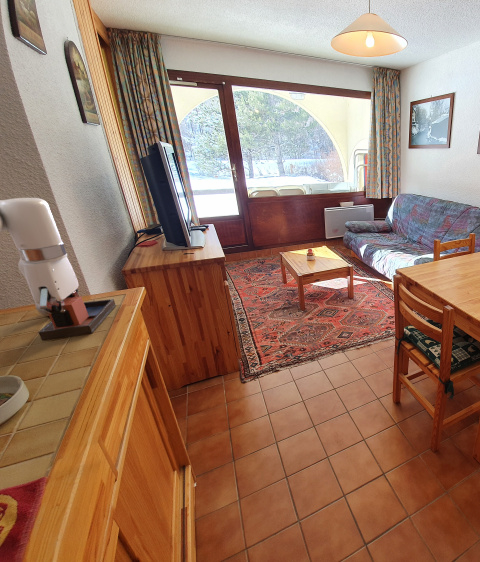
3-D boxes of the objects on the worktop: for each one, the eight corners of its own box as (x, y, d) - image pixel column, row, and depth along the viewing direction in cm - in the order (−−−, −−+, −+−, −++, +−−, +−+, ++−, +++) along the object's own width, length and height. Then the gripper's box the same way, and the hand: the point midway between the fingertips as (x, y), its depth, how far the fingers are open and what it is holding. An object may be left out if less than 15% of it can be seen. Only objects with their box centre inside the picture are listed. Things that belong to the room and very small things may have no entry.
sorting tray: (41, 340, 75) (37, 332, 74) (74, 311, 89) (71, 303, 88) (92, 333, 79) (89, 325, 78) (116, 306, 92) (113, 298, 91)
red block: (54, 328, 77) (45, 307, 74) (65, 319, 81) (56, 298, 79) (80, 325, 78) (71, 304, 76) (89, 316, 83) (81, 296, 80)
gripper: (44, 244, 78) (69, 307, 85) (-4, 266, 64) (32, 340, 71) (80, 242, 81) (103, 303, 88) (42, 262, 66) (73, 334, 73)
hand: (71, 319), depth 79 cm, fingers closed on red block, 5 cm apart
